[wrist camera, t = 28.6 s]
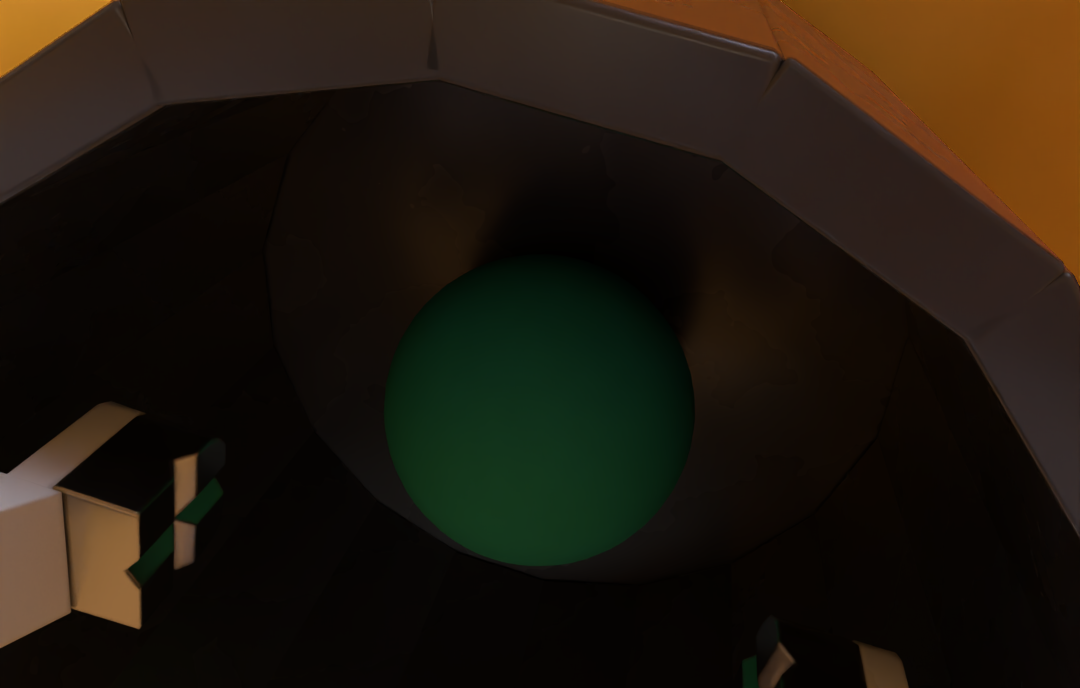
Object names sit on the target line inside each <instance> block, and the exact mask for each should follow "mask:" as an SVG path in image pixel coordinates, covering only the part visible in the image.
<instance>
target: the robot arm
mask: <svg viewBox="0 0 1080 688" xmlns="http://www.w3.org/2000/svg"><path fill="white" fill-rule="evenodd" d="M225 465H226V444H225V443H224V442H223V441H222V440H221V439H220V438H218V437H215V436H213V435H210V434H207V433H204V432H201V431H198V430H195V429H192V428H190V427H187V426H184V425H181V424H178V423H175V422H172V421H169V420H167V419H164V418H161V417H158V416H155V415H152V414H149V413H147V414H146V413H143V412H141V411H138V410H135V409H132V408H129V407H127V406H124V405H121V404H118V403H115V402H113V401H110V402H105V403H100V404H98V405H96V406H95V407H94V408H92V409H91V410H90V411H88V412H87V413H86V414H85V415H83V416H82V417H81V418H79V419H78V420H77V421H75V422H74V423H73V424H72V425H70V426H69V427H68V428H66V429H65V430H64V431H62V432H61V433H60V434H59V435H57V436H56V437H55V438H53V439H52V440H51V441H49V442H48V443H47V444H45V445H44V446H43V447H42V448H40V449H39V450H38V451H36V452H35V453H34V454H32V455H31V456H30V457H29V458H27V459H26V460H25V461H23V462H22V463H21V464H19V465H18V466H17V467H16V468H14V469H13V470H12V471H10V472H9V473H8V474H5V473H2V472H0V648H2V647H4V646H6V645H8V644H10V643H12V642H14V641H16V640H18V639H20V638H22V637H24V636H26V635H28V634H29V633H31V632H33V631H35V630H37V629H39V628H41V627H43V626H45V625H47V624H49V623H51V622H53V621H55V620H57V619H59V618H61V617H63V616H65V615H67V614H69V613H71V608H72V609H75V610H78V611H82V612H85V613H88V614H91V615H95V616H98V617H101V618H104V619H108V620H111V621H114V622H117V623H121V624H124V625H127V626H131V627H134V628H137V629H140V628H141V627H142V626H143V625H144V623H145V622H146V621H147V620H148V619H149V617H150V616H151V615H152V614H153V613H154V611H155V610H156V609H157V608H158V607H159V605H160V604H161V603H162V602H163V601H164V599H165V598H166V597H167V596H168V595H169V593H170V592H171V591H172V590H173V584H174V571H175V570H178V569H180V568H183V567H185V566H188V565H190V564H193V563H195V562H196V560H197V559H198V558H199V557H200V555H201V554H202V553H203V551H204V550H205V549H206V548H207V546H208V545H209V543H210V541H211V539H212V537H213V535H214V533H215V531H216V529H217V527H218V525H219V521H220V517H221V514H222V510H223V503H224V491H223V489H222V487H221V486H220V484H219V483H218V481H217V479H216V478H215V476H216V475H217V473H218V472H219V471H220V470H221V469H222V468H223V467H224V466H225ZM731 688H909V686H908V682H907V678H906V674H905V670H904V666H903V663H902V660H901V659H900V658H899V656H898V655H897V654H896V653H895V652H891V651H888V650H885V649H882V648H878V647H875V646H872V645H868V644H865V643H862V642H859V641H855V640H853V641H851V640H849V639H847V638H844V637H841V636H837V635H834V634H831V633H828V632H825V631H821V630H818V629H815V628H812V627H809V626H805V625H802V624H799V623H796V622H793V621H789V620H786V619H783V618H780V617H777V616H773V615H770V616H769V617H768V618H767V619H766V620H765V621H764V622H763V623H762V625H761V627H760V629H759V631H758V632H757V634H756V655H754V656H752V657H749V658H747V659H745V660H742V663H741V665H740V667H739V669H738V671H737V673H736V675H735V677H734V679H733V682H732V686H731Z"/></svg>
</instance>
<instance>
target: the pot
mask: <svg viewBox="0 0 1080 688" xmlns="http://www.w3.org/2000/svg"><path fill="white" fill-rule="evenodd" d="M530 254H550V255H559V256H567V257H571V258H576V259H580V260H584V261H587V262H589V263H592V264H595V265H598V266H600V267H603V268H605V269H607V270H609V271H611V272H612V273H614V274H616V275H618V276H620V277H621V278H623V279H624V280H626V281H627V282H629V283H630V284H632V285H633V286H634V287H636V288H637V289H638V290H639V291H640V292H641V293H642V294H644V295H645V296H646V297H647V298H648V299H649V300H650V301H651V302H652V304H653V305H654V306H655V307H656V308H657V309H658V310H659V311H660V313H661V314H662V315H663V316H664V317H665V319H666V320H667V322H668V323H669V325H670V326H671V328H672V329H673V331H674V332H675V334H676V337H677V339H678V341H679V343H680V345H681V347H682V349H683V352H684V354H685V357H686V360H687V363H688V366H689V370H690V373H691V377H692V383H693V389H694V400H695V423H694V429H693V436H692V442H691V448H690V451H689V454H688V458H687V461H686V464H685V466H684V469H683V471H682V473H681V476H680V478H679V480H678V482H677V484H676V486H675V488H674V490H673V491H672V493H671V494H670V496H669V497H668V498H667V500H666V501H665V502H664V504H663V505H662V507H661V508H660V509H659V510H658V512H657V513H656V514H655V515H654V516H653V517H652V518H651V519H650V520H649V521H648V522H647V523H646V524H645V525H644V526H643V527H642V528H641V529H639V530H638V531H637V532H636V533H634V534H633V535H632V536H630V537H629V538H628V539H626V540H625V541H624V542H622V543H620V544H619V545H617V546H615V547H613V548H611V549H610V550H607V551H605V552H603V553H600V554H598V555H595V556H593V557H590V558H588V559H585V560H581V561H577V562H574V563H569V564H562V565H552V566H525V565H516V564H510V563H505V562H501V561H498V560H494V559H491V558H488V557H485V556H483V555H480V554H477V553H475V552H473V551H471V550H469V549H467V548H465V547H463V546H462V545H460V544H459V543H457V542H455V541H454V540H452V539H451V538H450V537H448V536H447V535H446V534H444V533H443V532H442V531H440V530H439V529H438V528H437V527H436V526H435V525H434V524H433V523H432V522H431V521H430V520H429V519H428V518H427V517H426V516H425V515H424V514H423V513H422V512H421V511H420V509H419V508H418V507H417V506H416V505H415V503H414V502H413V500H412V499H411V497H410V496H409V494H408V493H407V491H406V490H405V488H404V486H403V484H402V482H401V480H400V478H399V476H398V474H397V471H396V469H395V467H394V464H393V461H392V458H391V456H390V452H389V447H388V442H387V437H386V432H385V423H384V401H385V389H386V382H387V378H388V373H389V369H390V366H391V363H392V359H393V356H394V354H395V351H396V349H397V347H398V344H399V342H400V340H401V338H402V337H403V335H404V333H405V332H406V330H407V328H408V327H409V325H410V323H411V322H412V320H413V319H414V317H415V316H416V315H417V313H418V312H419V311H420V310H421V309H422V308H423V306H424V305H425V304H426V303H427V302H428V301H429V300H430V299H431V298H432V297H433V296H434V295H435V294H436V293H438V292H439V291H440V290H441V289H442V288H443V287H445V286H446V285H447V284H449V283H450V282H452V281H453V280H455V279H457V278H458V277H460V276H461V275H463V274H465V273H467V272H468V271H470V270H472V269H475V268H477V267H479V266H481V265H484V264H486V263H489V262H493V261H496V260H500V259H503V258H509V257H515V256H522V255H530ZM110 401H113V402H115V403H118V404H121V405H124V406H127V407H129V408H132V409H135V410H138V411H141V412H143V413H146V414H147V413H149V414H152V415H155V416H158V417H161V418H164V419H167V420H169V421H172V422H175V423H178V424H181V425H184V426H187V427H190V428H192V429H195V430H198V431H201V432H204V433H207V434H210V435H213V436H215V437H218V438H220V439H221V440H222V441H223V442H224V443H225V444H226V465H225V466H224V467H223V468H222V469H221V470H220V471H219V472H218V473H217V475H216V476H215V478H216V479H217V481H218V483H219V484H220V486H221V487H222V489H223V491H224V503H223V510H222V514H221V517H220V521H219V525H218V527H217V529H216V531H215V533H214V535H213V537H212V539H211V541H210V543H209V545H208V546H207V548H206V549H205V550H204V551H203V553H202V554H201V555H200V557H199V558H198V559H197V560H196V562H195V563H193V564H190V565H188V566H185V567H183V568H180V569H178V570H175V571H174V584H173V590H172V591H171V592H170V593H169V595H168V596H167V597H166V598H165V599H164V601H163V602H162V603H161V604H160V605H159V607H158V608H157V609H156V610H155V611H154V613H153V614H152V615H151V616H150V617H149V619H148V620H147V621H146V622H145V623H144V625H143V626H142V627H141V628H140V629H137V628H134V627H131V626H127V625H124V624H121V623H117V622H114V621H111V620H108V619H104V618H101V617H98V616H95V615H91V614H88V613H85V612H82V611H78V610H75V609H72V608H71V613H69V614H67V615H65V616H63V617H61V618H59V619H57V620H55V621H53V622H51V623H49V624H47V625H45V626H43V627H41V628H39V629H37V630H35V631H33V632H31V633H29V634H28V635H26V636H24V637H22V638H20V639H18V640H16V641H14V642H12V643H10V644H8V645H6V646H4V647H2V648H0V688H731V686H732V682H733V679H734V677H735V675H736V673H737V671H738V669H739V667H740V665H741V663H742V660H745V659H747V658H749V657H752V656H754V655H756V634H757V632H758V631H759V629H760V627H761V625H762V623H763V622H764V621H765V620H766V619H767V618H768V617H769V616H770V615H773V616H777V617H780V618H783V619H786V620H789V621H793V622H796V623H799V624H802V625H805V626H809V627H812V628H815V629H818V630H821V631H825V632H828V633H831V634H834V635H837V636H841V637H844V638H847V639H849V640H851V641H853V640H855V641H859V642H862V643H865V644H868V645H872V646H875V647H878V648H882V649H885V650H888V651H891V652H895V653H896V654H897V655H898V656H899V658H900V659H901V660H902V663H903V666H904V670H905V674H906V678H907V682H908V686H909V688H1080V286H1079V284H1078V282H1077V280H1076V278H1075V276H1074V275H1073V274H1072V273H1071V272H1070V271H1069V270H1068V269H1067V268H1066V267H1065V265H1064V263H1063V262H1062V261H1061V260H1060V259H1059V258H1058V257H1057V256H1056V255H1055V254H1054V253H1053V252H1052V251H1051V250H1050V249H1049V248H1048V247H1047V246H1046V245H1045V244H1044V243H1043V242H1042V241H1041V240H1040V239H1039V238H1038V237H1037V236H1036V235H1035V234H1034V233H1033V232H1032V231H1031V230H1030V229H1029V228H1028V227H1027V226H1026V225H1025V224H1024V223H1023V222H1022V221H1021V220H1020V219H1019V218H1018V217H1017V216H1016V215H1015V214H1014V213H1013V212H1012V211H1011V210H1010V209H1009V208H1008V207H1007V206H1006V205H1005V204H1004V203H1003V202H1002V201H1001V200H1000V199H999V198H998V197H997V196H996V195H995V194H994V193H993V192H992V191H991V190H990V189H989V188H988V187H987V186H986V185H985V184H984V183H983V182H982V181H981V180H980V179H979V178H978V177H977V176H976V175H975V174H974V173H973V172H972V171H971V170H970V169H969V168H968V167H967V166H966V165H965V164H964V163H963V162H962V161H961V160H960V159H959V158H958V157H957V156H956V155H955V154H954V153H953V152H952V151H951V150H950V149H949V148H948V147H947V146H946V145H945V144H944V143H943V142H942V141H941V140H940V139H939V138H938V137H937V136H936V135H935V134H934V133H933V132H932V131H931V130H930V129H929V128H928V127H927V126H926V125H925V124H924V123H923V122H922V121H921V120H920V119H919V118H918V117H917V116H916V115H915V114H914V113H913V112H912V111H911V110H910V109H909V108H908V107H907V106H906V105H905V104H904V103H903V102H902V101H901V100H900V99H899V98H898V97H897V96H896V95H895V94H894V93H893V92H892V91H891V90H890V89H889V88H888V87H887V86H886V85H885V84H884V83H883V82H882V81H881V80H880V79H879V78H878V77H877V76H876V75H875V74H874V73H873V72H872V71H871V70H870V69H868V68H867V67H866V66H864V65H863V64H862V63H860V62H859V61H858V60H857V59H855V58H854V57H853V56H851V55H850V54H849V53H848V52H846V51H845V50H844V49H842V48H841V47H840V46H838V45H837V44H836V43H835V42H833V41H832V40H831V39H829V38H828V37H827V36H826V35H825V34H824V33H822V32H821V31H819V30H818V29H817V28H815V27H814V26H813V25H811V24H810V23H809V22H807V21H806V20H805V19H803V18H802V17H801V16H800V15H798V14H797V13H796V12H794V11H793V10H792V9H791V8H789V7H788V6H787V5H785V4H784V3H783V2H781V1H780V0H112V1H111V2H109V3H108V4H106V5H105V6H103V7H102V8H100V9H99V10H98V11H96V12H95V13H93V14H92V15H90V16H89V17H87V18H86V19H84V20H83V21H82V22H80V23H79V24H77V25H76V26H74V27H73V28H71V29H70V30H68V31H67V32H65V33H64V34H63V35H61V36H60V37H58V38H57V39H55V40H54V41H52V42H51V43H49V44H48V45H47V46H45V47H44V48H42V49H41V50H39V51H38V52H36V53H35V54H33V55H32V56H30V57H29V58H28V59H26V60H25V61H23V62H22V63H20V64H19V65H17V66H16V67H14V68H13V69H11V70H10V71H9V72H7V73H6V74H4V75H3V76H1V77H0V472H2V473H5V474H8V473H9V472H10V471H12V470H13V469H14V468H16V467H17V466H18V465H19V464H21V463H22V462H23V461H25V460H26V459H27V458H29V457H30V456H31V455H32V454H34V453H35V452H36V451H38V450H39V449H40V448H42V447H43V446H44V445H45V444H47V443H48V442H49V441H51V440H52V439H53V438H55V437H56V436H57V435H59V434H60V433H61V432H62V431H64V430H65V429H66V428H68V427H69V426H70V425H72V424H73V423H74V422H75V421H77V420H78V419H79V418H81V417H82V416H83V415H85V414H86V413H87V412H88V411H90V410H91V409H92V408H94V407H95V406H96V405H98V404H100V403H105V402H110Z"/></svg>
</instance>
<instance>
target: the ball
mask: <svg viewBox="0 0 1080 688" xmlns="http://www.w3.org/2000/svg"><path fill="white" fill-rule="evenodd" d="M384 423H385V432H386V437H387V442H388V447H389V452H390V456H391V458H392V461H393V464H394V467H395V469H396V471H397V474H398V476H399V478H400V480H401V482H402V484H403V486H404V488H405V490H406V491H407V493H408V494H409V496H410V497H411V499H412V500H413V502H414V503H415V505H416V506H417V507H418V508H419V509H420V511H421V512H422V513H423V514H424V515H425V516H426V517H427V518H428V519H429V520H430V521H431V522H432V523H433V524H434V525H435V526H436V527H437V528H438V529H439V530H440V531H442V532H443V533H444V534H446V535H447V536H448V537H450V538H451V539H452V540H454V541H455V542H457V543H459V544H460V545H462V546H463V547H465V548H467V549H469V550H471V551H473V552H475V553H477V554H480V555H483V556H485V557H488V558H491V559H494V560H498V561H501V562H505V563H510V564H516V565H525V566H552V565H562V564H569V563H574V562H577V561H581V560H585V559H588V558H590V557H593V556H595V555H598V554H600V553H603V552H605V551H607V550H610V549H611V548H613V547H615V546H617V545H619V544H620V543H622V542H624V541H625V540H626V539H628V538H629V537H630V536H632V535H633V534H634V533H636V532H637V531H638V530H639V529H641V528H642V527H643V526H644V525H645V524H646V523H647V522H648V521H649V520H650V519H651V518H652V517H653V516H654V515H655V514H656V513H657V512H658V510H659V509H660V508H661V507H662V505H663V504H664V502H665V501H666V500H667V498H668V497H669V496H670V494H671V493H672V491H673V490H674V488H675V486H676V484H677V482H678V480H679V478H680V476H681V473H682V471H683V469H684V466H685V464H686V461H687V458H688V454H689V451H690V448H691V442H692V436H693V429H694V423H695V400H694V389H693V383H692V377H691V373H690V370H689V366H688V363H687V360H686V357H685V354H684V352H683V349H682V347H681V345H680V343H679V341H678V339H677V337H676V334H675V332H674V331H673V329H672V328H671V326H670V325H669V323H668V322H667V320H666V319H665V317H664V316H663V315H662V314H661V313H660V311H659V310H658V309H657V308H656V307H655V306H654V305H653V304H652V302H651V301H650V300H649V299H648V298H647V297H646V296H645V295H644V294H642V293H641V292H640V291H639V290H638V289H637V288H636V287H634V286H633V285H632V284H630V283H629V282H627V281H626V280H624V279H623V278H621V277H620V276H618V275H616V274H614V273H612V272H611V271H609V270H607V269H605V268H603V267H600V266H598V265H595V264H592V263H589V262H587V261H584V260H580V259H576V258H571V257H567V256H559V255H550V254H530V255H522V256H515V257H509V258H503V259H500V260H496V261H493V262H489V263H486V264H484V265H481V266H479V267H477V268H475V269H472V270H470V271H468V272H467V273H465V274H463V275H461V276H460V277H458V278H457V279H455V280H453V281H452V282H450V283H449V284H447V285H446V286H445V287H443V288H442V289H441V290H440V291H439V292H438V293H436V294H435V295H434V296H433V297H432V298H431V299H430V300H429V301H428V302H427V303H426V304H425V305H424V306H423V308H422V309H421V310H420V311H419V312H418V313H417V315H416V316H415V317H414V319H413V320H412V322H411V323H410V325H409V327H408V328H407V330H406V332H405V333H404V335H403V337H402V338H401V340H400V342H399V344H398V347H397V349H396V351H395V354H394V356H393V359H392V363H391V366H390V369H389V373H388V378H387V382H386V389H385V401H384Z"/></svg>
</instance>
